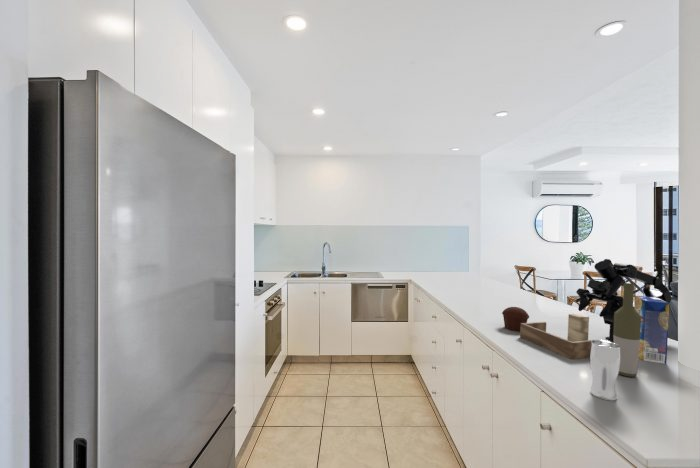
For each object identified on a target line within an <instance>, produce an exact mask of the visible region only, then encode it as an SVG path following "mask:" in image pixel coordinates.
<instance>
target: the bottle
mask: <svg viewBox="0 0 700 468" xmlns="http://www.w3.org/2000/svg"><path fill="white" fill-rule="evenodd" d="M622 289H623V292H622V293H623V294H622V297H623V306H622V307H621V308H620V309H618V310H617V311H616V312H615V313H614V334H613V340H612V341H613V343H616V344H618V345H619V346H620V368H619V373H618V375H621V376H624V377H632V378H633V377H636V376H637V374H638V368H639V343H640V329H641V315H640V314H639V313H638V312H637V311H636V310H635V309H634V308H633V301H634V290H635V283H630V282H626V283H624V285H623V286H622Z"/></svg>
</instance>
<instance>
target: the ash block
mask: <svg viewBox="0 0 700 468" xmlns="http://www.w3.org/2000/svg"><path fill="white" fill-rule="evenodd" d="M567 319H568V321H567V322H568V323H567V324H568V325H567V340H569V341H571V342H576V341H587V340H589V331H590V330H589V326H590V316H588V315H584V314H581V313H568V317H567Z"/></svg>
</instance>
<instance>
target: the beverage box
mask: <svg viewBox="0 0 700 468" xmlns="http://www.w3.org/2000/svg"><path fill="white" fill-rule="evenodd" d="M634 301H635V303H634V309H635V310H636V311H637V312H638V313H639V314H640V315H641V329H640V343H639V357H638V359H640V360H641V361H644V362H645V361H646V362H651V363H659V364H665V365H666V364H667V358H668V357H667V356H668V340H669V339H668V338H669V336H668V335H669V319H670V318H669V315H670V303H668V302H666V301H664V300H661V299H659V298H656V297H645V296H642V295H634Z"/></svg>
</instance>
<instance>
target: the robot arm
mask: <svg viewBox="0 0 700 468" xmlns="http://www.w3.org/2000/svg"><path fill="white" fill-rule="evenodd" d="M593 267H594V269H595V271H596V272H597V273H598V274H599V276H600V277H601V278H602V279H604V280H602V281H599V280H597V279H596V280H595V279H589V281H588V283H587V287H588V288H590V289H592V290H591V291H592V292H591V291H590V290H589V289H586V288H581V287H580V288H578V289H577V290H576V292H575V293H576V294H577V295H578V297H579V305H578V311H579V312H581V311H583V310H584V309H585V308H587V307H588V306H589V305H591V302H592V301H594V300H596V301H597V300H598V301H601V302H603V303H604V302H605V303H606V304H605V306H604V307H603V309H602V310H601V311H600V313H599V317H600V318H603V321H604V324H605V325H609V333H608V334H609V335H608V336H605V339H606V340H611V341H613V334H614V313H615V312H616V311H617V310H618V309H620V308H621V307H622V306H623V296H621V295H620V296H619V295H618V291H619V289H620V288H622V287H623V285H624V283H627V282H626V279H624V278H627V279H631V280H635V281H637V282H640V283H643V284H644V285H643V288H642V292H643V296H645V297H656V298H659V299H661V300H664V301H666V302H668V303H669V304H670V303H671V302H672V300H673V299H672V295H671V292H670V290H669V288H668V287H667V286H666V285H665V284H664V283H663V282H662V279H661V278H660V277H658V276H654V275H652V274H649V273H645V272H643V271H641V270H638V268H637V267H636V266H634V265H633V264H628V263H618V262H615V263H614V264H613V262H612V261H611V259H609V258H605V259H603V260H600V261H598V262H596V263H595V264H594V266H593ZM650 286H654V287H655V288H656V289H651V288H650ZM634 303H635V300H633V308H634Z"/></svg>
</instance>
